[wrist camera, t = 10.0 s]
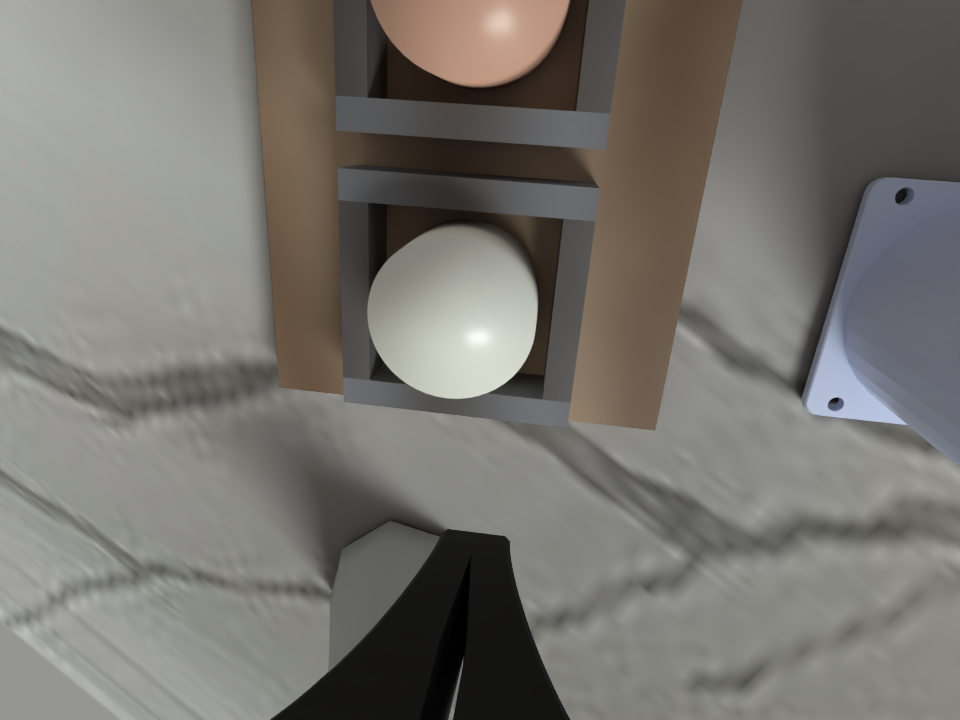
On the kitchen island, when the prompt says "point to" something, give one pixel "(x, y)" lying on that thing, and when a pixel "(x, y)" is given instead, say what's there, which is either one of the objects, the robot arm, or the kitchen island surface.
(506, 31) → the terracotta key
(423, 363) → the cream rounded piece
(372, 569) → the flask
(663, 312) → the three-slot key tray
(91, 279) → the kitchen island surface
